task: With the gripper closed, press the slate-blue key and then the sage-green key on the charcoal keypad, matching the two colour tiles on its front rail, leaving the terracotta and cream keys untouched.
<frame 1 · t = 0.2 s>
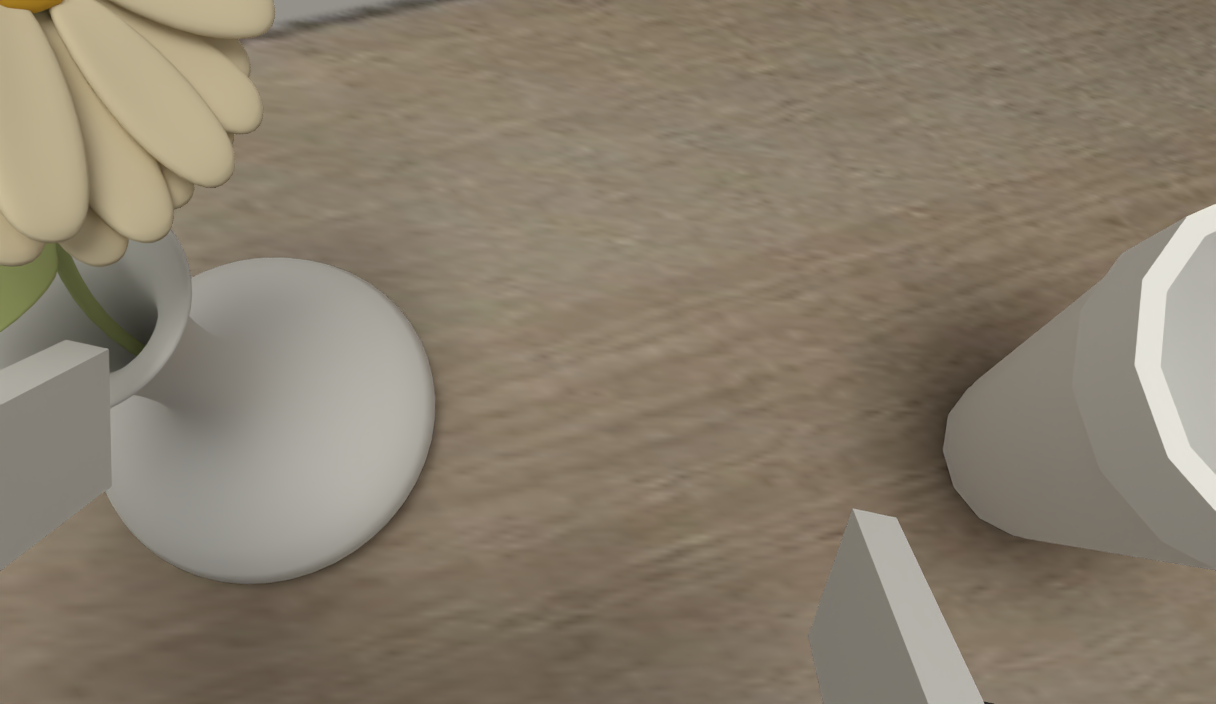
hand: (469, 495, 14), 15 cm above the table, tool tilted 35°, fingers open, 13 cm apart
flower in vase: (299, 403, 30), on the table
foam cup: (1021, 454, 31), on the table
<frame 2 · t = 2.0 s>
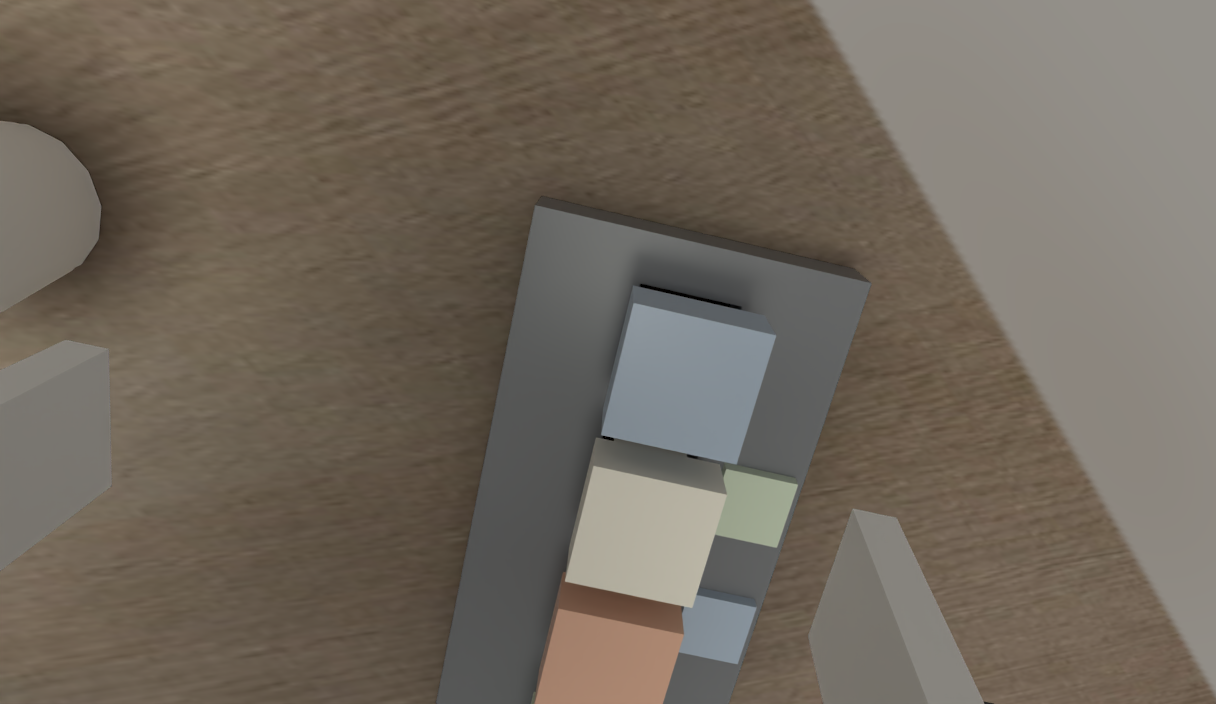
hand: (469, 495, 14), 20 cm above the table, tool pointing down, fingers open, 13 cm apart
key cream: (643, 505, 32), point 5 cm above the table, slide at 0.0 cm
key terracotta: (608, 632, 33), point 5 cm above the table, slide at 0.0 cm
keypad: (625, 511, 37), on the table
key slate: (682, 362, 30), point 5 cm above the table, slide at 0.0 cm
foam cup: (27, 201, 33), on the table
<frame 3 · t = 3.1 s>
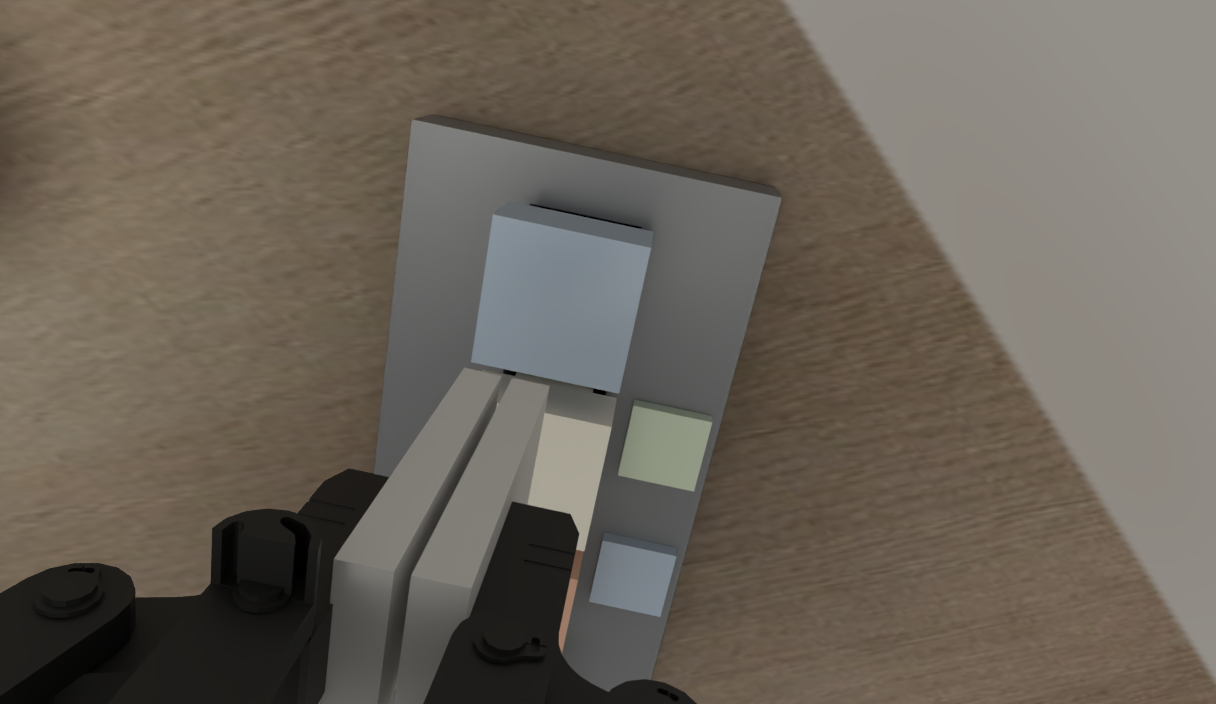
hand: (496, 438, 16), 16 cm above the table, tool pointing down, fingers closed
key cream: (538, 443, 29), point 5 cm above the table, slide at 0.0 cm
key terracotta: (513, 579, 32), point 5 cm above the table, slide at 0.0 cm
keypad: (544, 455, 35), on the table
key slate: (568, 285, 27), point 5 cm above the table, slide at 0.0 cm
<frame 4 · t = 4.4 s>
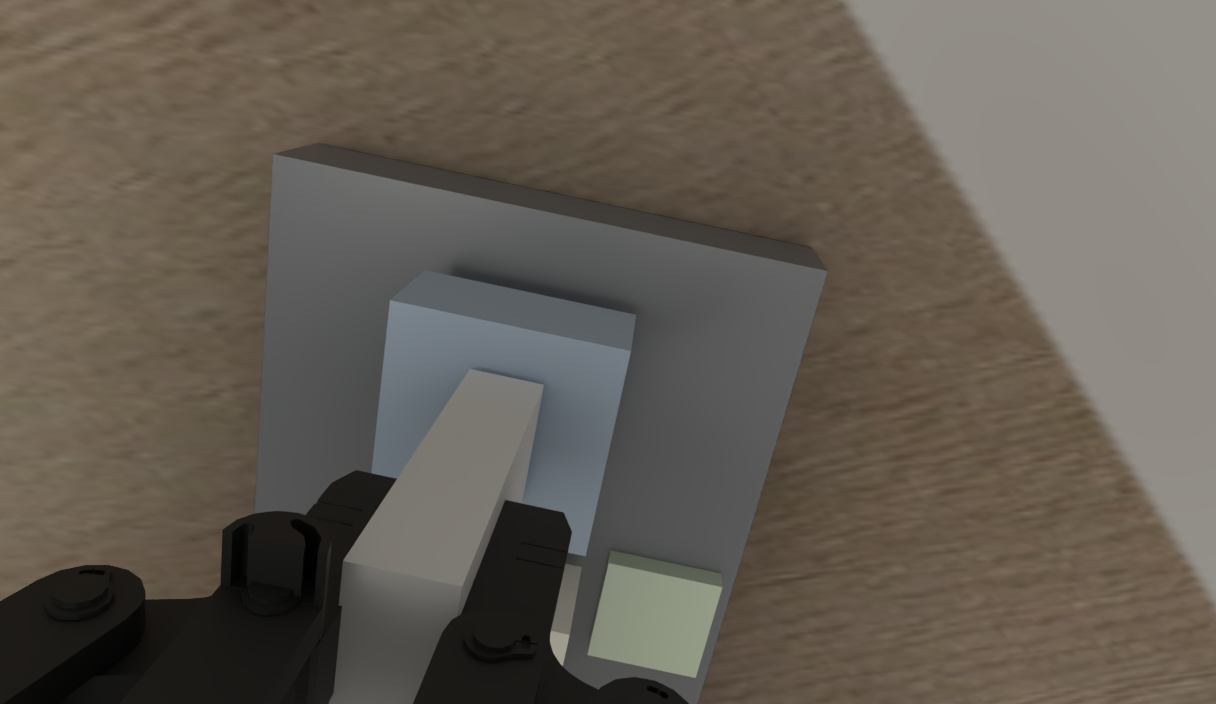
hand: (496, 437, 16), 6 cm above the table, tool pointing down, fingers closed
key cream: (468, 626, 20), point 5 cm above the table, slide at 0.0 cm
keypad: (491, 604, 26), on the table
key slate: (514, 389, 19), point 4 cm above the table, slide at 1.1 cm, touching gripper
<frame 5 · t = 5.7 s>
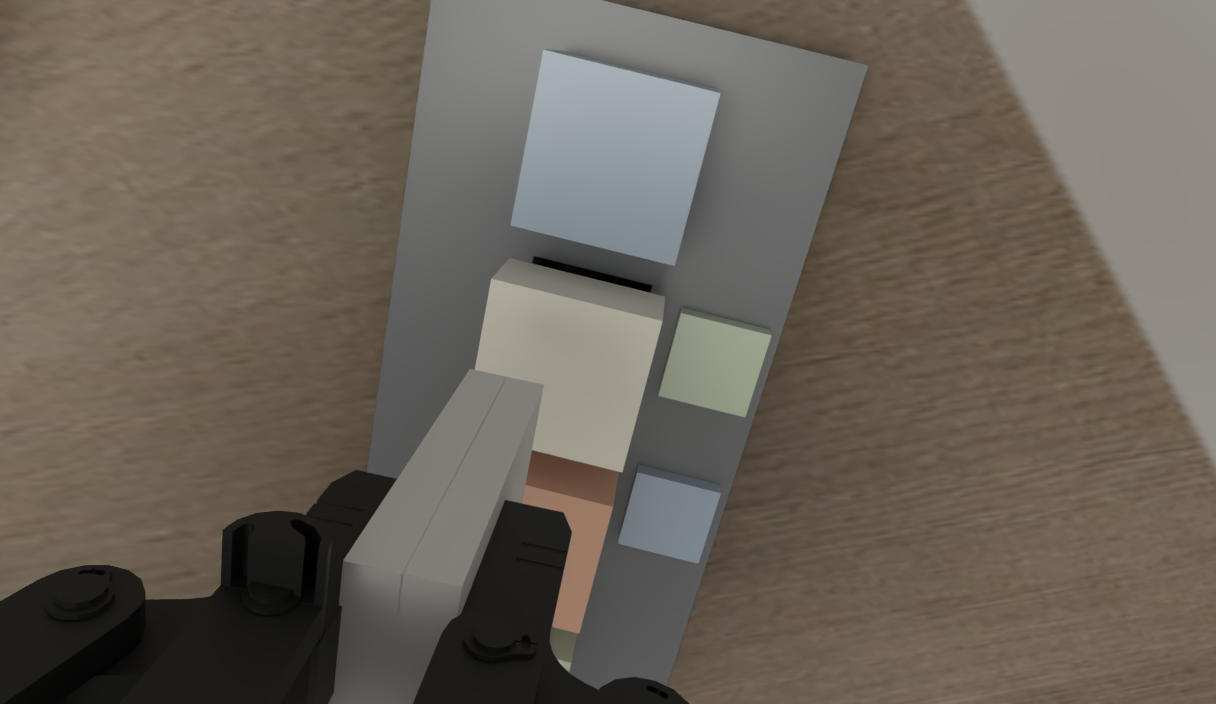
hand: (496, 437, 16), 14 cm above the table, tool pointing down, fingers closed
key cream: (571, 349, 25), point 5 cm above the table, slide at 0.0 cm
key terracotta: (534, 511, 28), point 5 cm above the table, slide at 0.0 cm
keypad: (571, 379, 31), on the table
key sage: (502, 650, 30), point 5 cm above the table, slide at 0.0 cm
key slate: (618, 151, 25), point 3 cm above the table, slide at 1.5 cm
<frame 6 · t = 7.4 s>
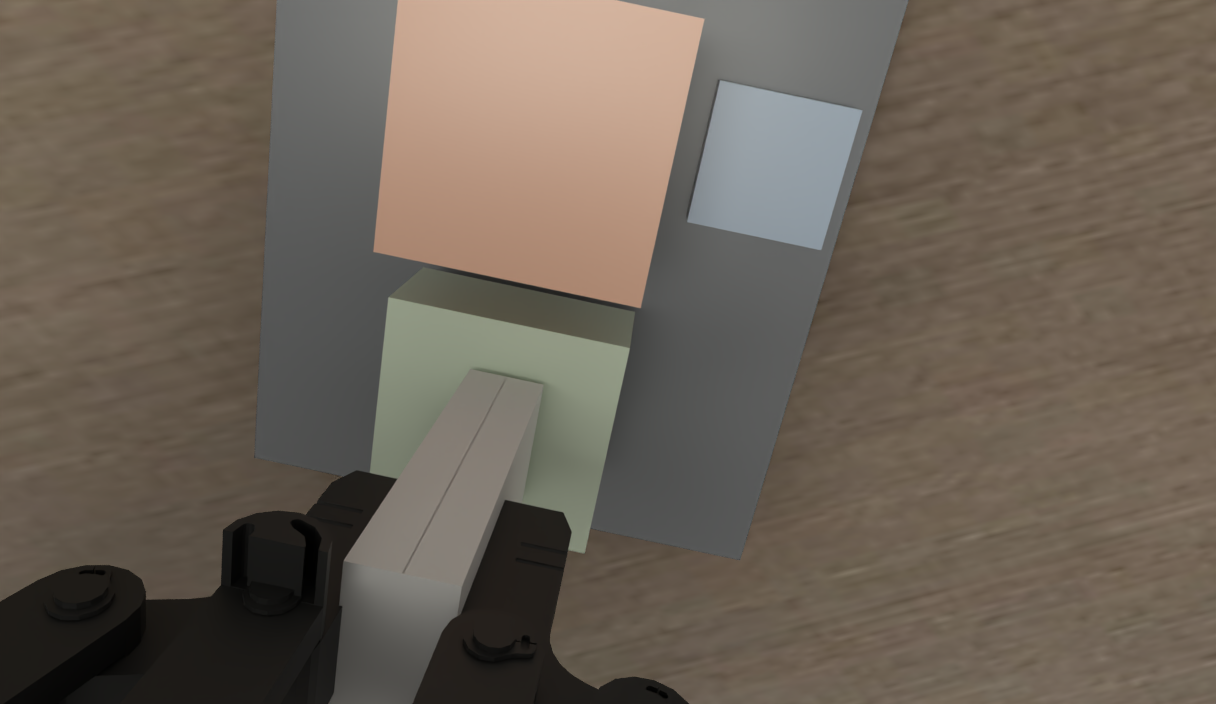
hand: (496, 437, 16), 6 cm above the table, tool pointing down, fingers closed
key terracotta: (549, 129, 16), point 5 cm above the table, slide at 0.0 cm
key sage: (513, 386, 19), point 4 cm above the table, slide at 1.2 cm, touching gripper
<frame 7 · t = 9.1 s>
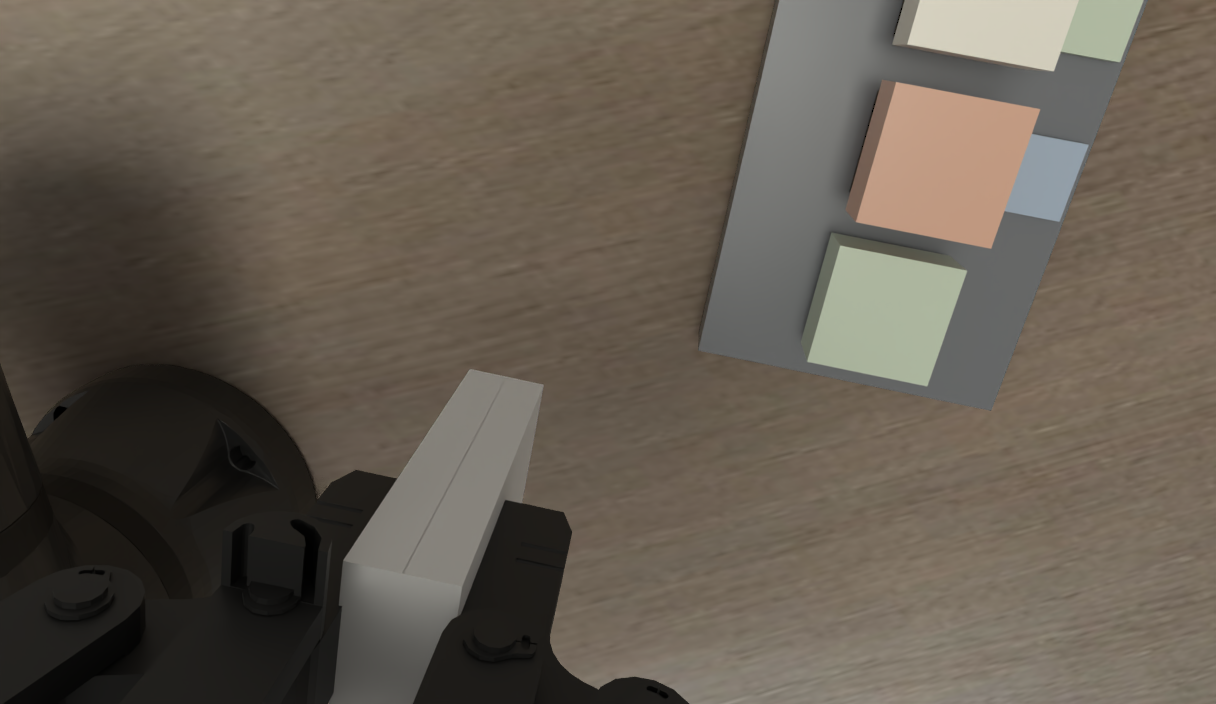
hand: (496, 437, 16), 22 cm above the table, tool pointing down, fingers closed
key terracotta: (927, 158, 30), point 5 cm above the table, slide at 0.0 cm
keypad: (921, 71, 34), on the table
key sage: (872, 299, 34), point 3 cm above the table, slide at 1.5 cm
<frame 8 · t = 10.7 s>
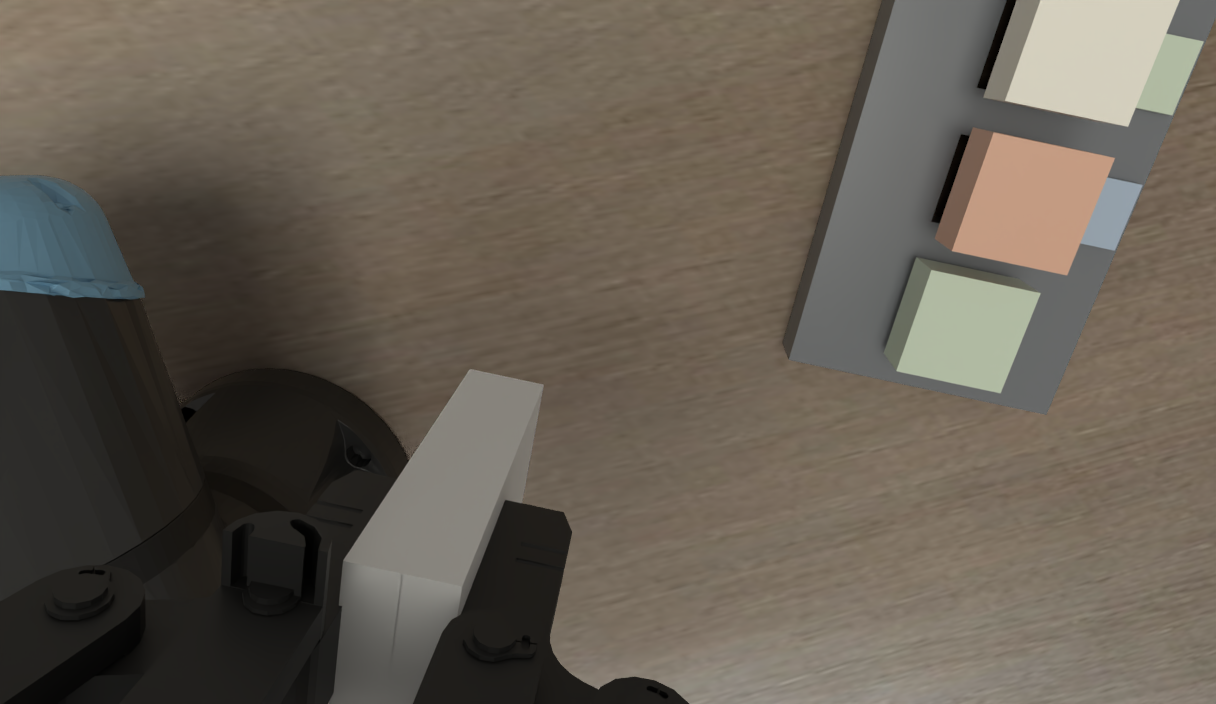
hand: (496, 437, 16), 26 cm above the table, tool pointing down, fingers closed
key cream: (1062, 48, 33), point 5 cm above the table, slide at 0.0 cm
key terracotta: (1008, 195, 35), point 5 cm above the table, slide at 0.0 cm
keypad: (992, 116, 38), on the table
key sage: (949, 316, 38), point 3 cm above the table, slide at 1.5 cm
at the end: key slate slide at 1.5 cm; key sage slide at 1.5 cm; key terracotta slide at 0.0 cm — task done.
